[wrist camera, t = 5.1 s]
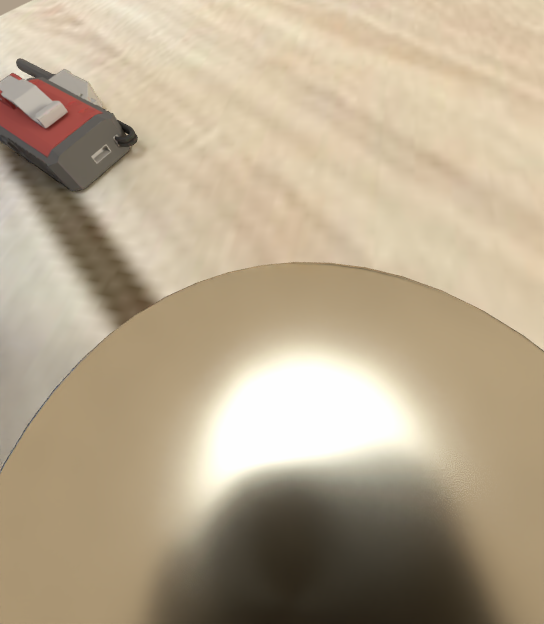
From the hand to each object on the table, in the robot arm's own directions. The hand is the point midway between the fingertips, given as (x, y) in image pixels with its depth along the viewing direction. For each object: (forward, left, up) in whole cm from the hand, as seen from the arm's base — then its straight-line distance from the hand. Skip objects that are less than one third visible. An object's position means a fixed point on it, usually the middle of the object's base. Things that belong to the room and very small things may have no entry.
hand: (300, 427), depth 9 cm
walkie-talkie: (+34, -2, -7) cm, 35 cm away
